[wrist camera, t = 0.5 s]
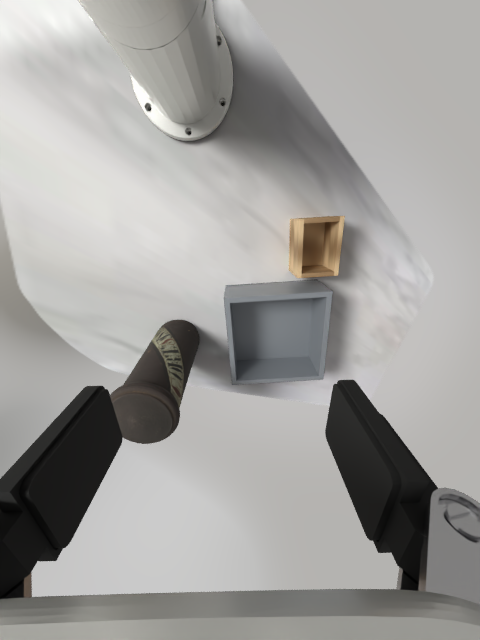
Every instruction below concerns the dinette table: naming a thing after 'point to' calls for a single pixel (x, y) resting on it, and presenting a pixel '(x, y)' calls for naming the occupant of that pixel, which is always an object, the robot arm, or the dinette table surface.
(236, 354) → the grey crate
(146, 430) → the container
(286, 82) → the dinette table surface
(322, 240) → the wooden crate
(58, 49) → the dinette table surface
